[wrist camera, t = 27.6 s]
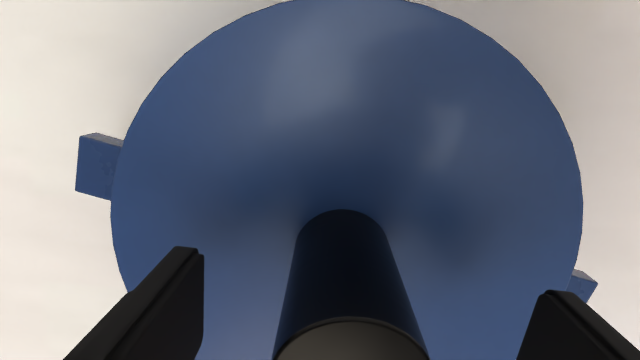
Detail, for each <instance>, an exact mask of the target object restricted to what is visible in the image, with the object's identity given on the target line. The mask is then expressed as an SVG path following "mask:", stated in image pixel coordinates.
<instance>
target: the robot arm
mask: <svg viewBox="0 0 640 360" xmlns="http://www.w3.org/2000/svg"><path fill="white" fill-rule="evenodd" d="M203 333H204V255H203V254H199V252H198V249H197V248H192V247H184V246H175V247H173V248H172V250H171V251H170V252H169V253H168V254H167V255H166V256H165V257H164V258H163V259H162V260H161V261H160V262H159V263H158V264H157V265H156V266H155V268H154V269H153V270H152V271H151V272H150V273H149V274H148V275H147V276H146V277H145V278H144V279H143V280H142V281H141V282H140V283H139V285H138V286H137V287H136V288H135V289H134V290H133V291H129V292H128V293H127V294H126V295H124V297H123V298H122V299H121V300H120V301H119V302H118V303H117V304H116V305H115V306H114V307H113V308H112V309H111V310H110V311H109V312H108V313H107V314H106V315H105V316H104V317H103V318H102V319H101V320H100V322H99V323H98V324H97V325H96V326H95V327H94V328H93V329H92V330H91V331H90V332H89V333H88V334H87V335H86V336H85V337H84V338H83V339H82V340H81V341H80V342H79V343H78V344H77V345H76V347H75V348H74V349H73V350H72V351H71V352H70V353H69V354H68V355H67V356H66V357H65V358H64V359H63V360H194V359H195V357H196V355H197V353H198V351H199V349H200V347H201V344H202V340H203ZM516 360H640V351H639V350H638V349H637V348H636V347H634V346H633V345H632V344H631V343H630V342H629V341H628V340H627V339H625V338H624V337H623V336H622V335H621V334H620V333H619V332H618V331H616V330H615V329H614V328H613V327H612V326H611V325H610V324H609V323H607V322H606V321H605V320H604V319H603V318H602V317H601V316H600V315H598V314H597V313H596V312H595V311H594V310H593V309H592V308H591V307H589V306H588V305H587V304H586V303H585V302H584V301H583V300H581V299H580V298H579V297H578V296H577V295H576V294H574V293H573V292H568V291H560V290H551V289H549V290H546V291H545V292H544V294H541V295H539V296H538V298H537V301H536V304H535V307H534V310H533V313H532V315H531V318H530V321H529V324H528V327H527V330H526V333H525V336H524V338H523V341H522V344H521V347H520V350H519V353H518V356H517V359H516Z"/></svg>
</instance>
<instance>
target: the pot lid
mask: <svg viewBox="0 0 640 360" xmlns="http://www.w3.org/2000/svg"><path fill="white" fill-rule="evenodd" d="M582 221H583V195H582V186H581V176H580V170H579V167H578V163H577V159H576V155H575V152H574V148H573V144H572V141H571V139H570V137H569V135H568V132H567V130H566V128H565V125H564V123H563V121H562V119H561V116H560V114H559V112H558V111H557V109H556V108H555V106H554V105H553V103H552V102H551V100H550V98H549V97H548V95H547V94H546V92H545V91H544V89H543V88H542V86H541V85H540V84H539V83H538V81H537V80H536V79H535V78H534V77H533V76H532V75H531V74H530V72H529V71H528V70H527V69H526V68H525V67H524V66H523V65H522V63H521V62H520V61H519V60H518V59H517V58H515V57H514V56H513V55H512V54H510V53H509V52H508V51H507V50H506V49H504V48H503V47H502V46H501V45H500V44H498V43H497V42H496V41H495V40H493V39H492V38H491V37H489V36H487V35H486V34H484V33H482V32H481V31H479V30H477V29H476V28H474V27H472V26H471V25H469V24H467V23H466V22H464V21H462V20H460V19H458V18H455V17H453V16H451V15H448V14H446V13H443V12H441V11H438V10H436V9H433V8H431V7H428V6H425V5H421V4H417V3H413V2H409V1H405V0H292V1H287V2H282V3H278V4H275V5H273V6H270V7H267V8H264V9H262V10H259V11H256V12H253V13H250V14H248V15H245V16H243V17H241V18H239V19H237V20H235V21H234V22H232V23H230V24H228V25H226V26H224V27H222V28H221V29H219V30H217V31H215V32H213V33H212V34H210V35H209V36H208V37H206V38H205V39H204V40H202V41H201V42H200V43H198V44H197V45H196V46H194V47H193V48H192V49H190V50H189V51H188V52H186V53H185V54H184V55H183V56H182V57H181V58H180V59H179V60H178V61H177V62H176V63H175V64H174V65H173V66H172V67H171V68H170V69H169V70H168V71H167V72H166V73H165V74H164V75H163V76H162V77H161V78H160V80H159V81H158V82H157V84H156V85H155V86H154V88H153V89H152V91H151V92H150V93H149V95H148V96H147V97H146V99H145V100H144V101H143V103H142V105H141V106H140V108H139V110H138V112H137V114H136V116H135V118H134V120H133V122H132V123H131V125H130V127H129V129H128V131H127V134H126V137H125V139H124V142H123V145H122V148H121V151H120V154H119V156H118V159H117V164H116V169H115V175H114V180H113V185H112V195H111V227H112V237H113V246H114V250H115V254H116V258H117V263H118V267H119V271H120V273H121V276H122V279H123V281H124V284H125V286H126V289H127V292H129V291H133V290H134V289H135V288H136V287H137V286H138V285H139V283H140V282H141V281H142V280H143V279H144V278H145V277H146V276H147V275H148V274H149V273H150V272H151V271H152V270H153V269H154V268H155V266H156V265H157V264H158V263H159V262H160V261H161V260H162V259H163V258H164V257H165V256H166V255H167V254H168V253H169V252H170V251H171V250H172V248H173V247H175V246H184V247H192V248H197V249H198V252H199V254H203V255H204V333H203V340H202V344H201V347H200V349H199V351H198V353H197V355H196V357H195V359H194V360H516V359H517V356H518V353H519V350H520V347H521V344H522V341H523V338H524V336H525V333H526V330H527V327H528V324H529V321H530V318H531V315H532V313H533V310H534V307H535V304H536V301H537V298H538V296H539V295H541V294H544V292H545V291H546V290H549V289H551V290H560V291H566V289H567V287H568V284H569V281H570V278H571V275H572V272H573V269H574V266H575V263H576V260H577V255H578V250H579V245H580V240H581V234H582Z"/></svg>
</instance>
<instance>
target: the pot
mask: <svg viewBox="0 0 640 360" xmlns="http://www.w3.org/2000/svg"><path fill="white" fill-rule="evenodd" d="M123 142H124V140H120V139H117V138H113V137H110V136H106V135H103V134H99V133H92V134H87V135H83V136H80V138H79V149H78V161H77V173H76V185H75V191H77V192H81V193H85V194H88V195H92V196H95V197H99V198H103V199H106V200H110V201H111V195H112V185H113V180H114V175H115V169H116V164H117V159H118V156H119V154H120V151H121V148H122V145H123ZM597 285H598V283H597V282H596V281H595V280H593V279H592V278H591V277H589V276H588V275H587V274H585V273H584V272H583V271H580V270H576V269H573V272H572V275H571V278H570V281H569V284H568V287H567V289H566V291H568V292H573V293H574V294H576V295H577V296H578V297H579V298H580V299H581V300H583V301H584V302H585V303H587V301H588V300H589V298H590V297H591V295H592V293H593V292H594V290H595V288H596V287H597Z"/></svg>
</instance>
